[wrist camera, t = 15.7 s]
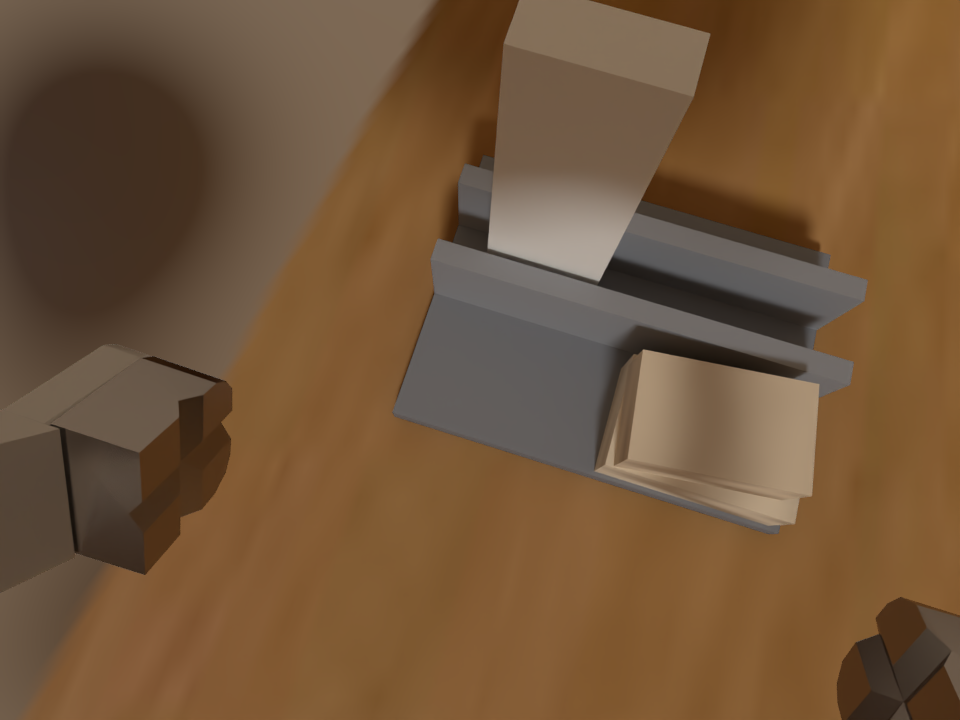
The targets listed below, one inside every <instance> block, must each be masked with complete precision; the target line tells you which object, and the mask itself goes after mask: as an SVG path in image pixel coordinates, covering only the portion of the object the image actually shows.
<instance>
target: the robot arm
mask: <svg viewBox="0 0 960 720" xmlns="http://www.w3.org/2000/svg"><path fill="white" fill-rule="evenodd" d="M231 411H232V388H231V386H230V385H229V384H228V383H227V382H226V381H224V380H221V379H218V378H215V377H213V376H210V375H207V374H204V373H201V372H198V371H195V370H192V369H189V368H186V367H183V366H180V365H178V364H175V363H172V362H169V361H166V360H163V359H160V358H157V357H154V356H152V357H151V356H149V355H147V354H144V353H141V352H138V351H135V350H132V349H129V348H126V347H123V346H120V345H117V344H114V345H113V344H112V345H103V346H101V347H100V348H98V349H96V350H95V351H93V352H92V353H90V354H89V355H87V356H86V357H84V358H83V359H81V360H80V361H78V362H76V363H75V364H73V365H72V366H70V367H69V368H67V369H66V370H64V371H62V372H61V373H59V374H58V375H56V376H55V377H53V378H51V379H50V380H48V381H47V382H45V383H44V384H42V385H41V386H39V387H37V388H36V389H34V390H33V391H31V392H30V393H28V394H27V395H25V396H23V397H22V398H20V399H19V400H17V401H16V402H14V403H13V404H11V405H9V406H8V407H6V408H5V409H3V410H2V409H0V593H1V592H4V591H6V590H8V589H10V588H12V587H14V586H16V585H18V584H20V583H22V582H25V581H26V580H28V579H31V578H33V577H35V576H37V575H39V574H41V573H43V572H45V571H48V570H50V569H52V568H54V567H56V566H58V565H60V564H62V563H64V562H67V561H69V560H70V559H73V558H75V553H76V554H80V555H83V556H86V557H89V558H92V559H95V560H99V561H102V562H105V563H108V564H111V565H115V566H118V567H121V568H124V569H127V570H131V571H134V572H137V573H140V574H143V575H146V574H147V572H148V571H149V570H150V569H151V568H152V567H153V565H154V564H155V563H156V562H157V561H158V560H159V559H160V557H161V556H162V555H163V554H164V553H165V552H166V550H167V549H168V548H169V547H170V546H171V545H172V543H173V542H174V541H175V540H176V539H177V538H178V537H179V535H180V517H183V516H185V515H188V514H191V513H193V512H196V511H199V510H201V509H203V507H204V506H205V505H206V504H207V502H208V501H209V500H210V499H211V498H212V496H213V495H214V494H215V492H216V490H217V488H218V486H219V484H220V482H221V480H222V479H223V477H224V475H225V473H226V469H227V465H228V461H229V457H230V449H231V438H230V436H229V435H228V433H227V431H226V430H225V428H224V426H223V425H222V423H221V422H222V421H223V420H224V419H225V417H226V416H227V415H228V414H229V413H230V412H231ZM876 622H877V627H878V632H879V634H878V635H875V636H873V637H870V638H867V639H864V640H861V641H858V642H856V643H855V644H854V646H853V647H852V648H851V650H850V651H849V653H848V654H847V655H846V657H845V658H844V660H843V661H842V665H841V669H840V673H839V677H838V681H837V701H838V706H839V710H840V714H841V718H842V720H960V615H957V614H954V613H950V612H947V611H944V610H941V609H938V608H934V607H931V606H928V605H925V604H922V603H918V602H915V601H912V600H909V599H906V598H902V597H900V598H898V599H896V600H894V601H892V602H889V603H887V605H886V606H885V607H884V608H883V609H882V611H881V612H880V613H879V614H878V615H877V617H876Z"/></svg>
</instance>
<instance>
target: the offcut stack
mask: <svg viewBox="0 0 960 720" xmlns="http://www.w3.org/2000/svg"><path fill="white" fill-rule="evenodd" d="M818 398H819V384H816V383H811V382H806V381H801V380H796V379H791V378H786V377H781V376H776V375H771V374H765V373H760V372H755V371H750V370H745V369H740V368H735V367H730V366H725V365H720V364H715V363H710V362H705V361H700V360H694V359H689V358H684V357H679V356H674V355H669V354H664V353H659V352H654V351H649V350H644V349H643V350H642V351H641V352H640V353H639V354H638V355H636V354H634V355H633V356H632V357H631V358H630V359H629V360H628V361H627V362H626V364H625V365H624V366H623V367H622V368H621V371H620V375H619V378H618V382H617V386H616V390H615V394H614V397H613V401H612V405H611V409H610V412H609V416H608V420H607V424H606V428H605V431H604V435H603V439H602V443H601V446H600V450H599V454H598V458H597V462H596V465H595V469H594V471H595V472H598V473H602V474H605V475H608V476H611V477H614V478H617V479H621V480H624V481H627V482H630V483H633V484H637V485H640V486H643V487H646V488H649V489H653V490H656V491H659V492H662V493H665V494H668V495H672V496H675V497H678V498H681V499H684V500H688V501H691V502H694V503H697V504H700V505H704V506H707V507H710V508H713V509H716V510H719V511H723V512H726V513H729V514H732V515H735V516H739V517H742V518H745V519H748V520H751V521H754V522H758V523H761V524H764V525H767V526H773V525H789V524H795V520H796V515H797V509H798V504H799V498H802V497H809V496H812V487H813V472H814V458H815V443H816V428H817V413H818Z"/></svg>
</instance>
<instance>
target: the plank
mask: <svg viewBox="0 0 960 720" xmlns="http://www.w3.org/2000/svg"><path fill="white" fill-rule="evenodd" d="M709 38H710V33H707V32H703V31H699V30H696V29H692V28H688V27H685V26H681V25H677V24H674V23H670V22H666V21H663V20H659V19H655V18H652V17H648V16H644V15H641V14H637V13H633V12H630V11H626V10H622V9H619V8H615V7H612V6H608V5H604V4H601V3H597V2H593V1H590V0H519V2H518V5H517V8H516V11H515V13H514V16H513V19H512V22H511V24H510V27H509V30H508V33H507V35H506V38H505V41H504V44H503V57H502V69H501V82H500V95H499V108H498V121H497V134H496V147H495V159H494V172H493V185H492V198H491V211H490V224H489V237H488V249H487V253H488V254H492V255H495V256H498V257H502V258H505V259H508V260H512V261H515V262H519V263H522V264H525V265H529V266H532V267H535V268H539V269H542V270H545V271H549V272H552V273H556V274H559V275H562V276H566V277H569V278H572V279H576V280H579V281H583V282H586V283H589V284H593V285H596V286H597V285H598V283H599V281H600V279H601V277H602V275H603V273H604V271H605V269H606V267H607V265H608V264H609V262H610V260H611V258H612V256H613V254H614V252H615V250H616V248H617V246H618V244H619V242H620V240H621V238H622V236H623V234H624V232H625V230H626V228H627V226H628V224H629V222H630V221H631V219H632V217H633V215H634V213H635V211H636V209H637V207H638V205H639V203H640V201H641V199H642V197H643V195H644V193H645V191H646V189H647V187H648V185H649V183H650V181H651V179H652V177H653V176H654V174H655V172H656V170H657V168H658V166H659V164H660V162H661V160H662V158H663V156H664V154H665V152H666V150H667V148H668V146H669V144H670V142H671V140H672V138H673V136H674V134H675V133H676V131H677V129H678V127H679V125H680V123H681V121H682V119H683V117H684V115H685V113H686V111H687V109H688V107H689V105H690V103H691V101H692V99H693V97H694V94H695V90H696V87H697V83H698V79H699V75H700V72H701V68H702V64H703V60H704V57H705V53H706V49H707V45H708V42H709Z"/></svg>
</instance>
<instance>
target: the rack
mask: <svg viewBox="0 0 960 720" xmlns="http://www.w3.org/2000/svg"><path fill="white" fill-rule="evenodd" d="M494 159H495V158H493V157H489V156H486V155H483V157H482V160H481V163H480V166H479V167H476V166H472V165H469V164H465V165H464V168H463V170H462V173H461V176H460V179H459V182H458V206H459V225H458V228H457V231H456V234H455V237H454V240H453V242H452V243H451V242H448V241H445V240H441V239H438V240H437V243H436V245H435V248H434V251H433V254H432V257H431V267H432V275H433V284H434V292H435V293H434V296H433V299H432V302H431V305H430V308H429V310H428V313H427V316H426V319H425V322H424V325H423V327H422V330H421V333H420V336H419V339H418V342H417V344H416V347H415V350H414V353H413V356H412V359H411V361H410V364H409V367H408V370H407V373H406V376H405V378H404V381H403V384H402V387H401V390H400V393H399V395H398V398H397V401H396V404H395V407H394V410H393V414H394V416H395V417H398V418H401V419H405V420H408V421H411V422H414V423H417V424H420V425H424V426H427V427H430V428H433V429H436V430H440V431H443V432H446V433H449V434H452V435H455V436H459V437H462V438H465V439H468V440H471V441H475V442H478V443H481V444H484V445H487V446H490V447H494V448H497V449H500V450H503V451H506V452H509V453H513V454H516V455H519V456H522V457H525V458H529V459H532V460H535V461H538V462H541V463H544V464H548V465H551V466H554V467H557V468H560V469H564V470H567V471H570V472H573V473H576V474H579V475H583V476H586V477H589V478H592V479H595V480H598V481H602V482H605V483H608V484H611V485H614V486H618V487H621V488H624V489H627V490H630V491H633V492H637V493H640V494H643V495H646V496H649V497H653V498H656V499H659V500H662V501H665V502H668V503H672V504H675V505H678V506H681V507H684V508H687V509H691V510H694V511H697V512H700V513H703V514H707V515H710V516H713V517H716V518H719V519H722V520H726V521H729V522H732V523H735V524H738V525H742V526H745V527H748V528H751V529H754V530H757V531H761V532H764V533H767V534H779V529H780V525H773V526H767V525H764V524H761V523H758V522H754V521H751V520H748V519H745V518H742V517H739V516H735V515H732V514H729V513H726V512H723V511H719V510H716V509H713V508H710V507H707V506H704V505H700V504H697V503H694V502H691V501H688V500H684V499H681V498H678V497H675V496H672V495H668V494H665V493H662V492H659V491H656V490H653V489H649V488H646V487H643V486H640V485H637V484H633V483H630V482H627V481H624V480H621V479H617V478H614V477H611V476H608V475H605V474H602V473H598V472H595V471H594V469H595V465H596V462H597V458H598V454H599V450H600V446H601V443H602V439H603V435H604V431H605V428H606V424H607V420H608V416H609V412H610V409H611V405H612V401H613V397H614V394H615V390H616V386H617V382H618V378H619V375H620V371H621V368H622V367H623V366H624V365H625V364H626V362H627V361H628V360H629V359H630V358H631V357H632V356H633V355H634V354H636V355H638V354H639V353H640V352H641V351H642V350H643V349H644V350H649V351H654V352H659V353H664V354H669V355H674V356H679V357H684V358H689V359H694V360H700V361H705V362H710V363H715V364H720V365H725V366H730V367H735V368H740V369H745V370H750V371H755V372H760V373H765V374H771V375H776V376H781V377H786V378H791V379H796V380H801V381H806V382H811V383H816V384H819V397H822V396H824V395H826V394H829V393H831V392H834V391H836V390H838V389H841V388H843V387H846V386H848V385H850V382H851V376H852V370H853V364H854V362H852V361H848V360H845V359H842V358H838V357H835V356H831V355H828V354H825V353H821V352H818V351H815V350H813V346H814V341H815V336H816V330H818V329H819V328H821V327H823V326H824V325H826V324H827V323H829V322H831V321H832V320H834V319H836V318H837V317H839V316H841V315H842V314H844V313H846V312H847V311H849V310H850V309H852V308H854V307H855V306H857V305H859V304H860V303H862V302H864V299H865V293H866V287H867V281H868V280H866V279H862V278H859V277H855V276H852V275H848V274H845V273H841V272H838V271H834V270H831V269H828V266H829V261H830V255H829V254H825V253H822V252H818V251H815V250H811V249H808V248H805V247H801V246H798V245H794V244H791V243H787V242H784V241H780V240H777V239H773V238H770V237H766V236H763V235H759V234H756V233H753V232H749V231H746V230H742V229H739V228H735V227H732V226H728V225H725V224H721V223H718V222H714V221H711V220H707V219H704V218H701V217H697V216H694V215H690V214H687V213H683V212H680V211H676V210H673V209H669V208H666V207H662V206H659V205H655V204H652V203H649V202H645V201H642V200H641V201H640V203H639V205H638V207H637V209H636V211H635V213H634V215H633V217H632V219H631V221H630V222H629V224H628V226H627V228H626V230H625V232H624V234H623V236H622V238H621V240H620V242H619V244H618V246H617V248H616V250H615V252H614V254H613V256H612V258H611V260H610V262H609V264H608V265H607V267H606V269H605V271H604V273H603V275H602V277H601V279H600V281H599V283H598V285H597V286H596V285H593V284H589V283H586V282H583V281H579V280H576V279H572V278H569V277H566V276H562V275H559V274H556V273H552V272H549V271H545V270H542V269H539V268H535V267H532V266H529V265H525V264H522V263H519V262H515V261H512V260H508V259H505V258H502V257H498V256H495V255H492V254H488V253H487V249H488V237H489V224H490V211H491V198H492V185H493V172H494Z"/></svg>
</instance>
